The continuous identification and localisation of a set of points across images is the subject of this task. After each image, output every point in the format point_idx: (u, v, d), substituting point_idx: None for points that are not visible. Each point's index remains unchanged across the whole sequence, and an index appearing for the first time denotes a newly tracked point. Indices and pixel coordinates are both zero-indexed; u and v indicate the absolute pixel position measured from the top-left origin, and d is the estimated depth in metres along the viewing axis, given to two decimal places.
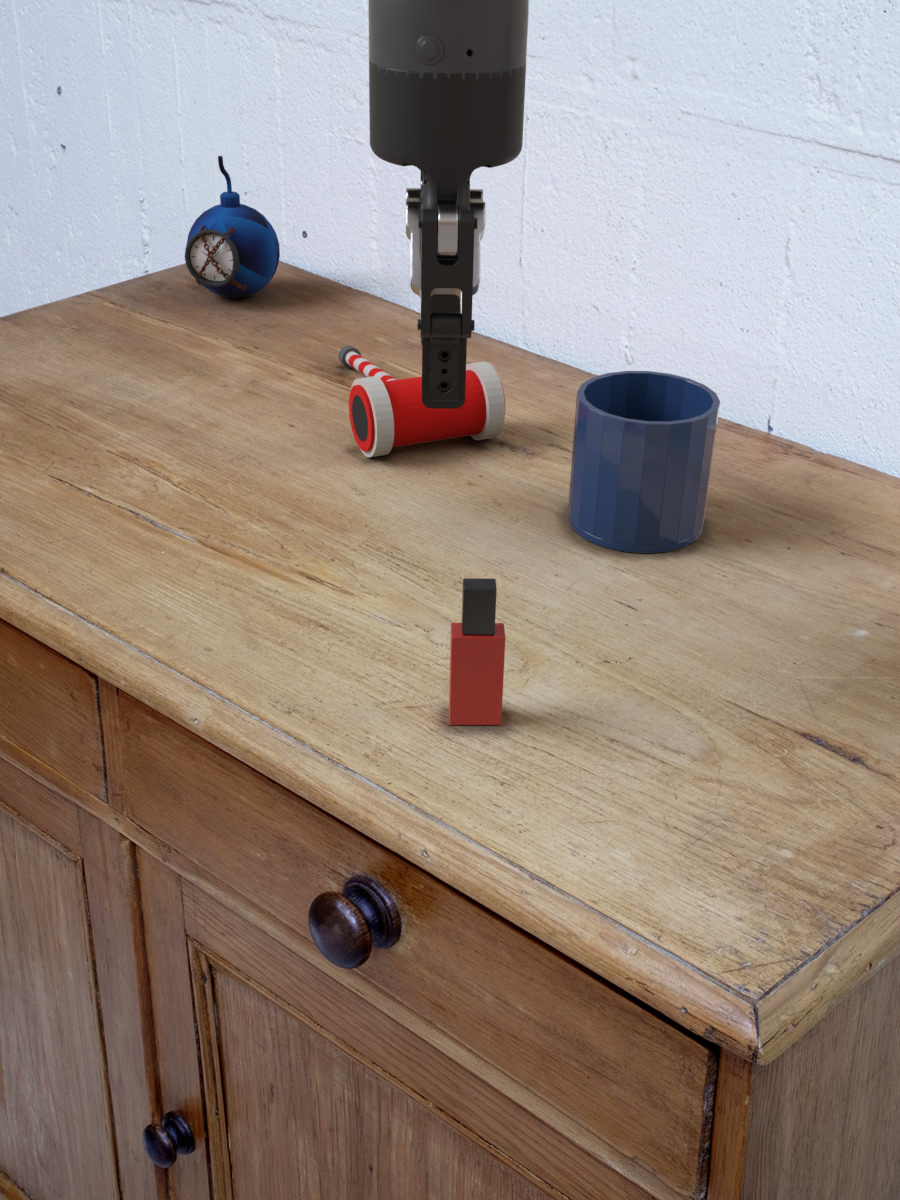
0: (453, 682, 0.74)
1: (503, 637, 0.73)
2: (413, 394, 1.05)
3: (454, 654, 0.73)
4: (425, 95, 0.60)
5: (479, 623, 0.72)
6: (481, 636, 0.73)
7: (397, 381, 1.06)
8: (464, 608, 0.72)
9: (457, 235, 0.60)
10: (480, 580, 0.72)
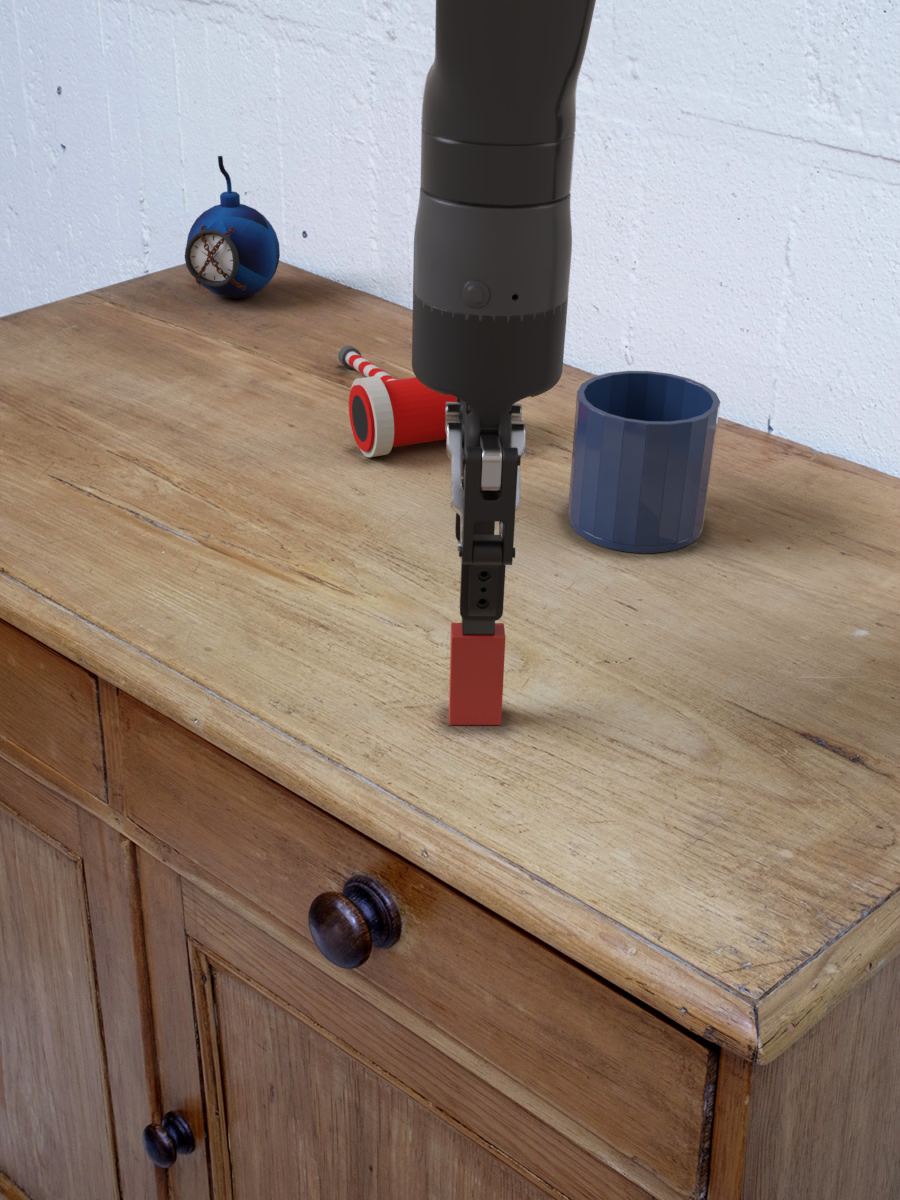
0: (453, 682, 0.74)
1: (503, 637, 0.73)
2: (413, 394, 1.05)
3: (454, 654, 0.73)
4: (470, 335, 0.61)
5: (479, 623, 0.72)
6: (481, 636, 0.73)
7: (397, 381, 1.06)
8: None
9: (500, 473, 0.61)
10: None
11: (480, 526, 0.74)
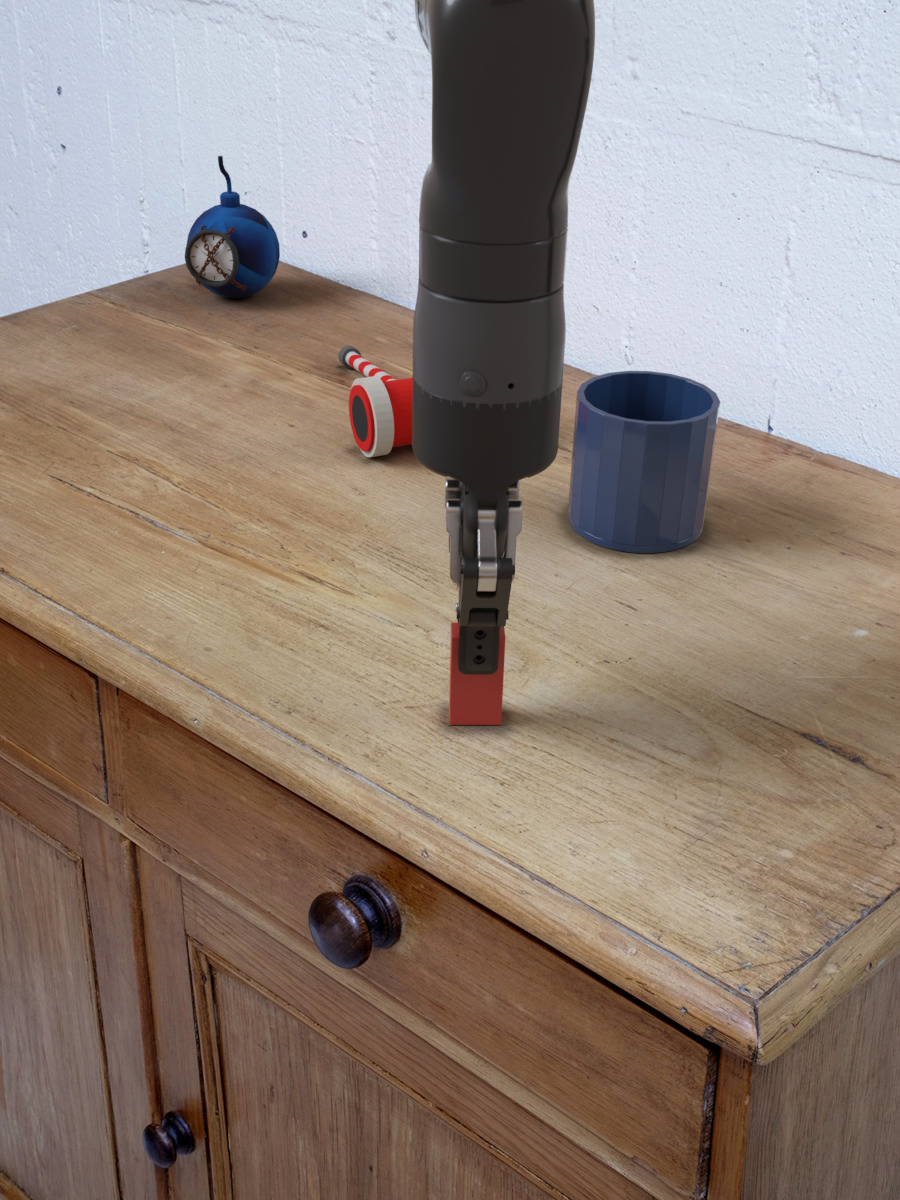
0: (453, 682, 0.74)
1: (503, 637, 0.73)
2: None
3: (454, 654, 0.73)
4: (468, 421, 0.63)
5: None
6: None
7: (397, 381, 1.06)
8: None
9: (496, 584, 0.65)
10: None
11: None
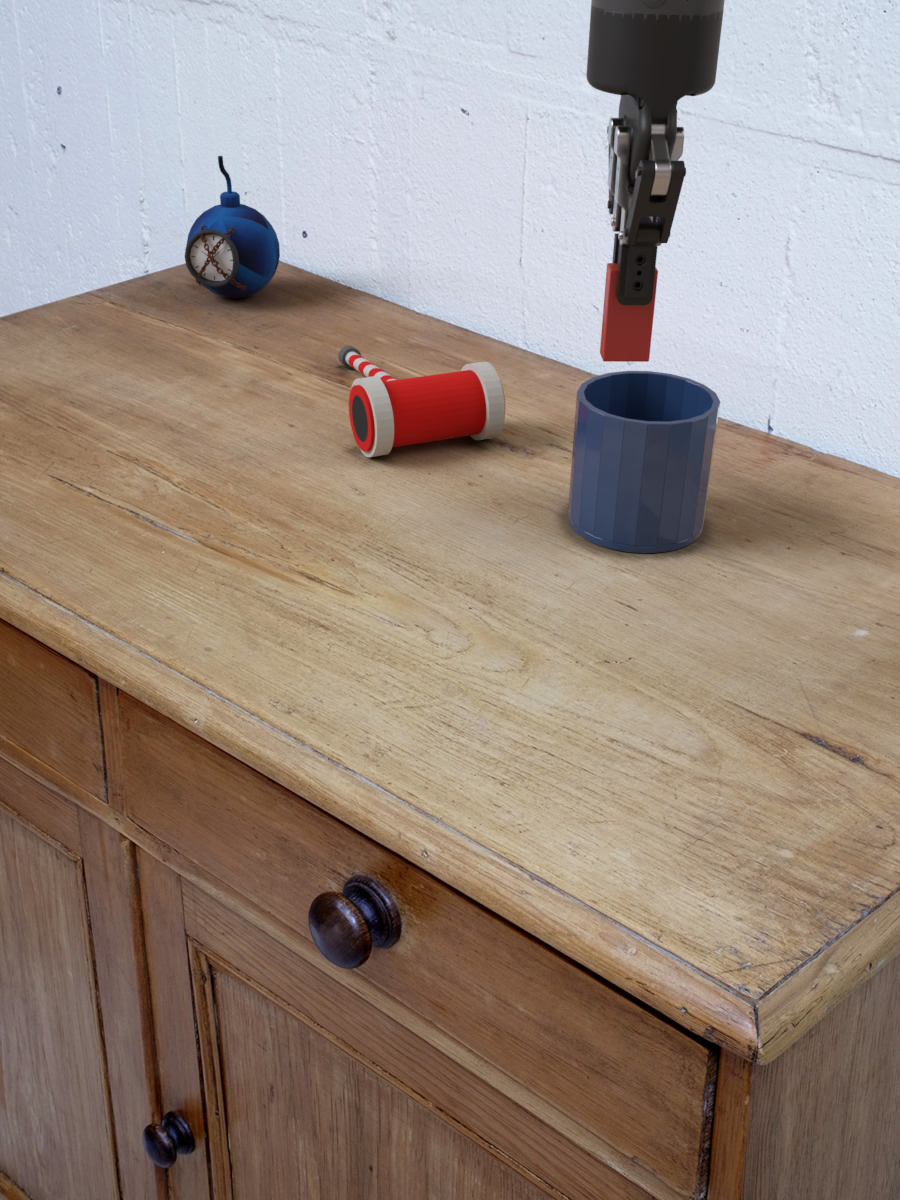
0: (609, 317, 0.83)
1: (656, 270, 0.82)
2: (413, 395, 1.05)
3: (612, 287, 0.82)
4: (647, 33, 0.72)
5: None
6: None
7: (397, 381, 1.06)
8: None
9: (668, 185, 0.74)
10: None
11: None
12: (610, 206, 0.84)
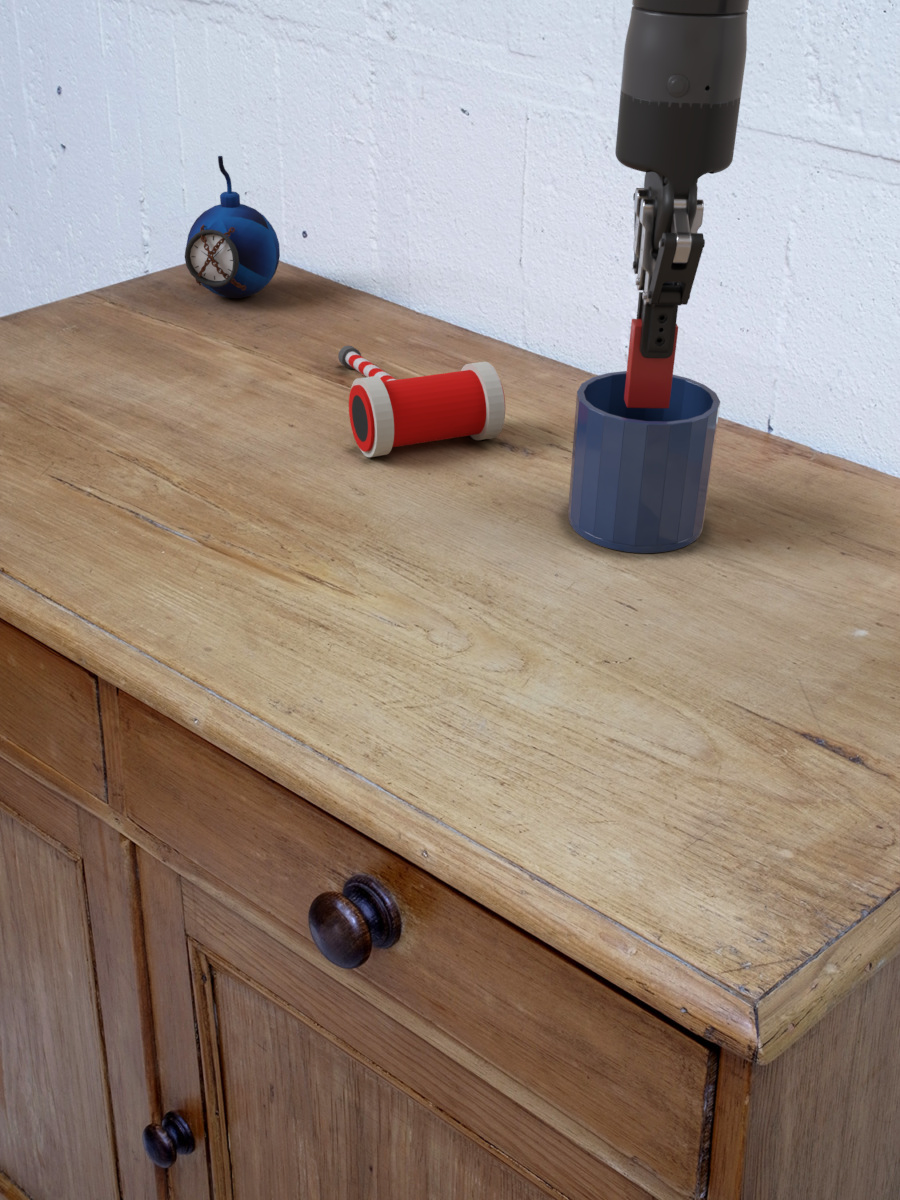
0: (633, 368, 0.91)
1: (676, 326, 0.90)
2: (413, 394, 1.05)
3: (636, 342, 0.90)
4: (671, 119, 0.80)
5: None
6: None
7: (397, 381, 1.06)
8: None
9: (688, 255, 0.82)
10: None
11: None
12: (635, 266, 0.91)
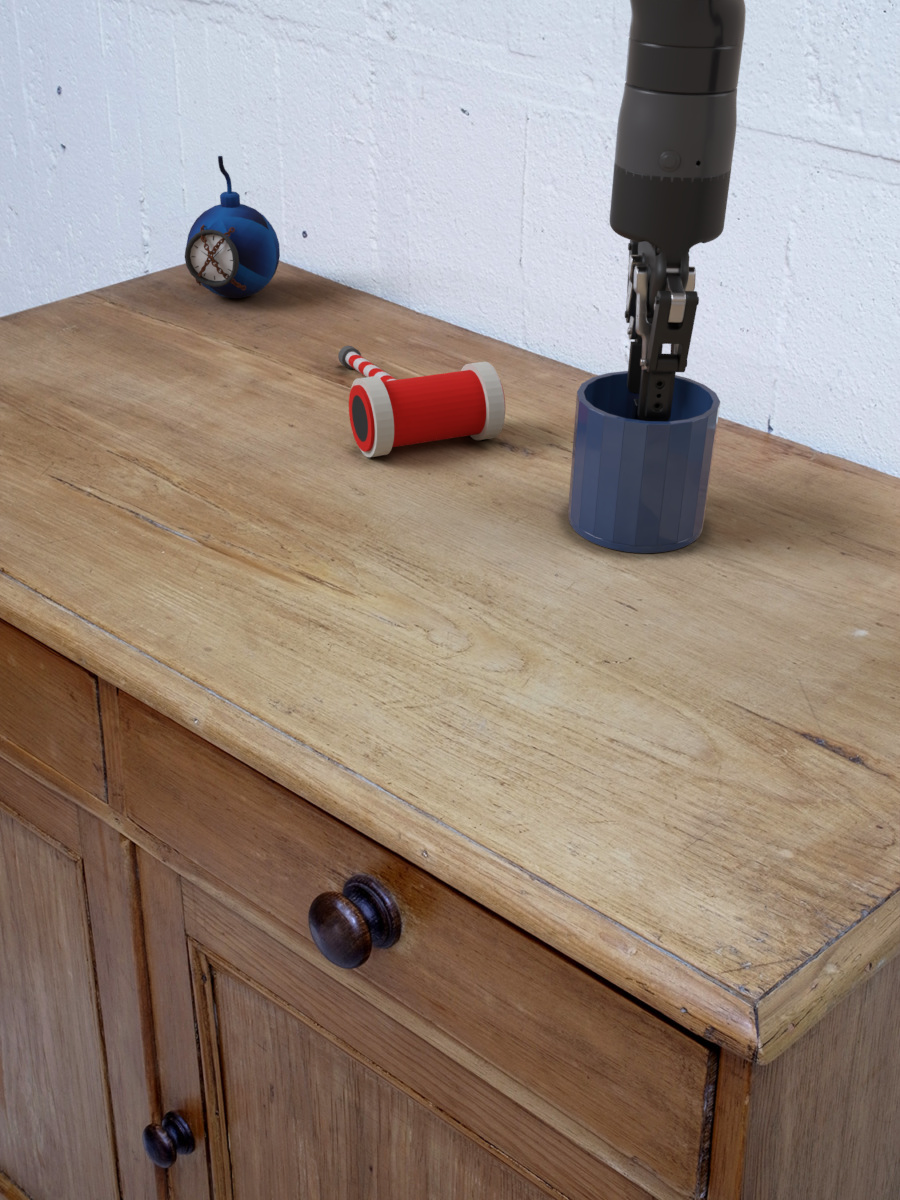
0: None
1: None
2: (413, 394, 1.05)
3: None
4: (663, 193, 0.82)
5: None
6: None
7: (397, 381, 1.06)
8: None
9: (684, 311, 0.83)
10: None
11: None
12: (627, 317, 0.95)
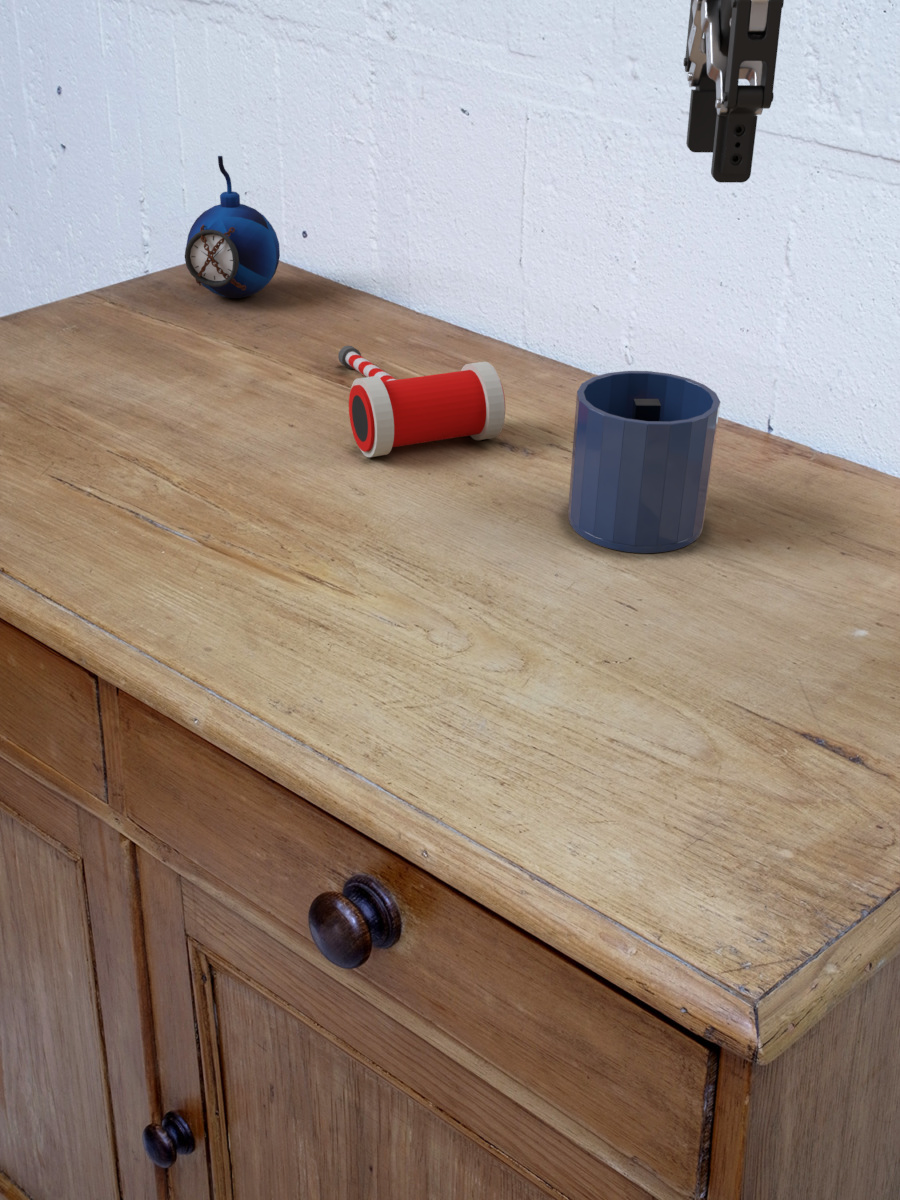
0: None
1: None
2: (413, 394, 1.05)
3: None
4: None
5: None
6: None
7: (397, 381, 1.06)
8: None
9: (767, 12, 0.70)
10: (647, 399, 0.94)
11: (710, 135, 0.84)
12: (686, 66, 0.84)
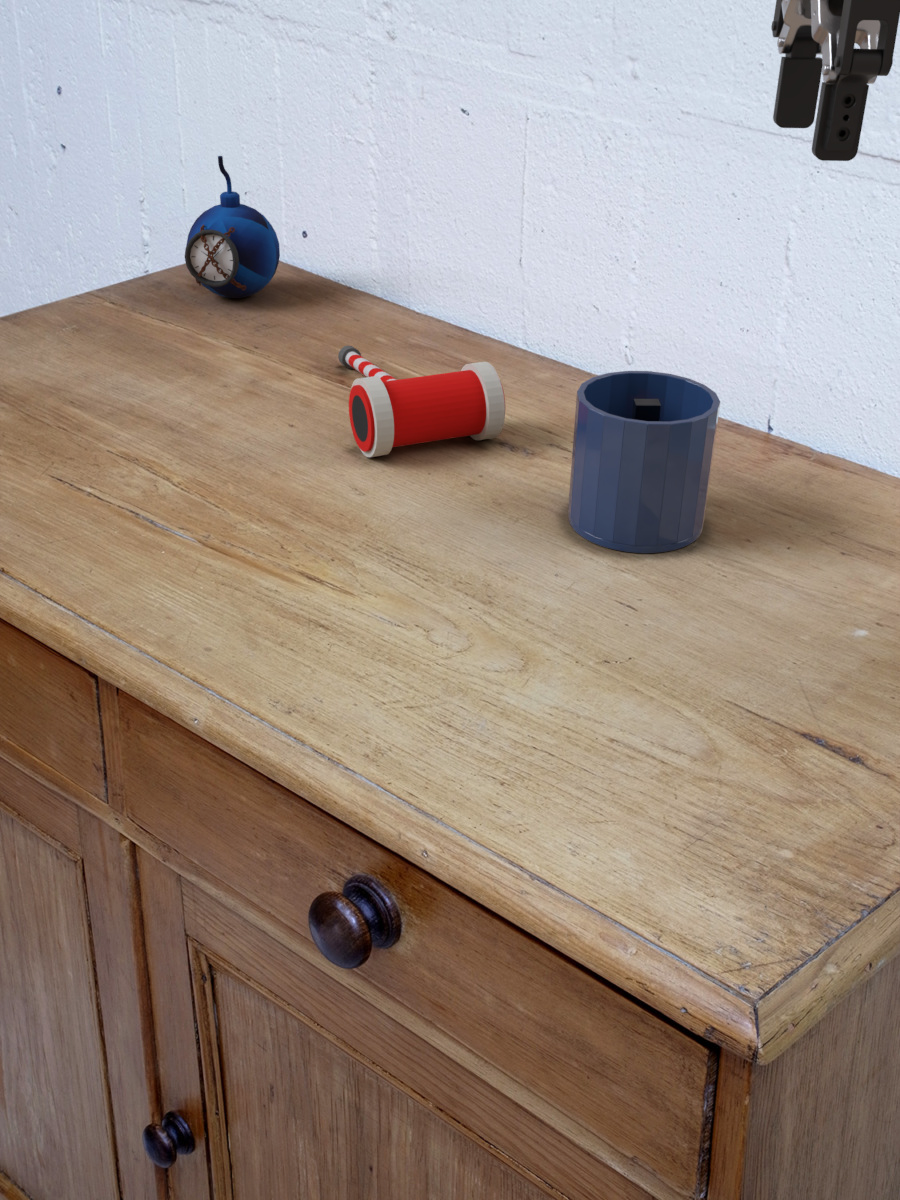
0: None
1: None
2: (413, 395, 1.05)
3: None
4: None
5: None
6: None
7: (397, 381, 1.06)
8: None
9: None
10: (647, 399, 0.94)
11: (801, 108, 0.75)
12: (775, 30, 0.75)
